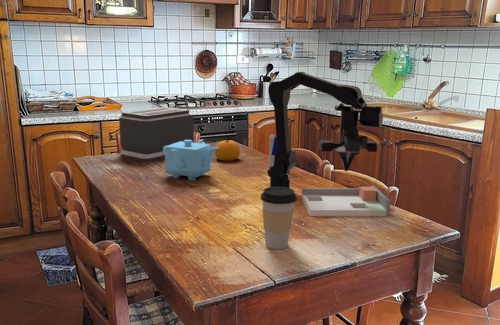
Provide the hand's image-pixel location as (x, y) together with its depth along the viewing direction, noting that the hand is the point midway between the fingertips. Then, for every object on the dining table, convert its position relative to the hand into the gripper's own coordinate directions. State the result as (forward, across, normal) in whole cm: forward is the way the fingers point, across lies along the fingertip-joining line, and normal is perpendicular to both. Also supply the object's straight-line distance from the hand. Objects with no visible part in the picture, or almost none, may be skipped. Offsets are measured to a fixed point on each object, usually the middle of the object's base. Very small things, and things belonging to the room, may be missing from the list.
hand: (345, 170), depth 160 cm
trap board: (+11, -2, -6) cm, 13 cm away
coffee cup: (+11, -27, -36) cm, 46 cm away
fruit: (+11, -39, +62) cm, 74 cm away
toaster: (+11, -72, +75) cm, 105 cm away
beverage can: (+11, -19, +44) cm, 49 cm away
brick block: (+9, +8, -2) cm, 12 cm away
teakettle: (+11, -54, +32) cm, 64 cm away
